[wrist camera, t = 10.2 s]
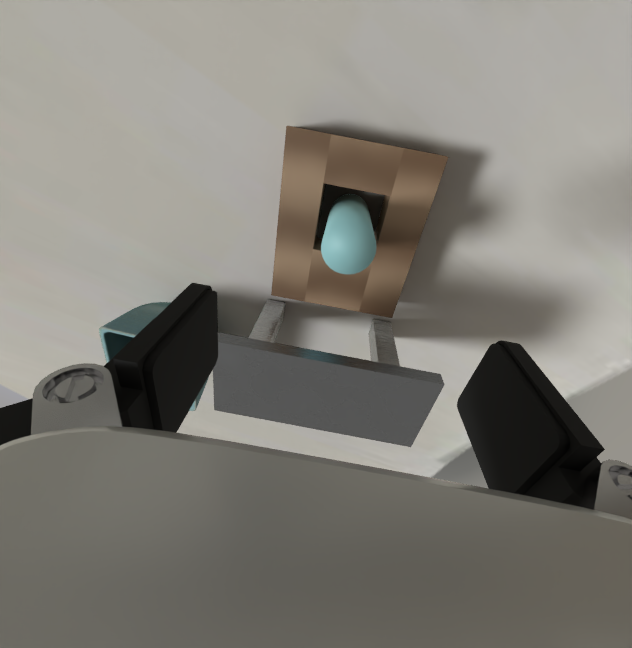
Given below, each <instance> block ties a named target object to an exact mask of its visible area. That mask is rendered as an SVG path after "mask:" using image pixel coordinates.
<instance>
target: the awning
mask: <svg viewBox="0 0 632 648" xmlns="http://www.w3.org/2000/svg"><path fill="white" fill-rule="evenodd" d="M284 309H285V302H280V301H275V300H270V299H268V300H267V302H266V304H265V306H264V308H263V310H262V312H261V313H260V315H259V317H258V319H257V321H256V323H255V325H254V327H253V329H252V331H251V333H250V335H249V337H248V338H246V337H241V336H236V335H231V334H225V333H220V332H218V359H217V362H216V365H215V366H214V368H213V383H214V410H217V411H222V412H227V413H233V414H238V415H243V416H249V417H254V418H259V419H265V420H270V421H275V422H281V423H286V424H291V425H297V426H302V427H307V428H312V429H318V430H323V431H328V432H334V433H339V434H344V435H350V436H355V437H360V438H366V439H371V440H376V441H382V442H387V443H392V444H398V445H403V446H408V447H411V446H412V444H413V442H414V440H415V438H416V437H417V435H418V433H419V431H420V429H421V427H422V425H423V424H424V422H425V420H426V418H427V416H428V414H429V412H430V410H431V409H432V407H433V405H434V403H435V401H436V399H437V397H438V396H439V394H440V392H441V390H442V388H443V386H444V382H443V380H442V377H441V374H437V373H432V372H426V371H421V370H416V369H410V368H405V367H400V364H399V359H398V355H397V350H396V345H395V341H394V336H393V331H392V326H391V322H386V321H381V320H375V319H373V321H372V324H371V328H370V331H369V343H370V355H371V361H368V360H363V359H358V358H352V357H347V356H342V355H336V354H331V353H326V352H321V351H315V350H310V349H305V348H299V347H294V346H289V345H283V344H278V343H274V342H275V339H276V337H277V334H278V331H279V328H280V326H281V323H282V320H283V318H284Z"/></svg>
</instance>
